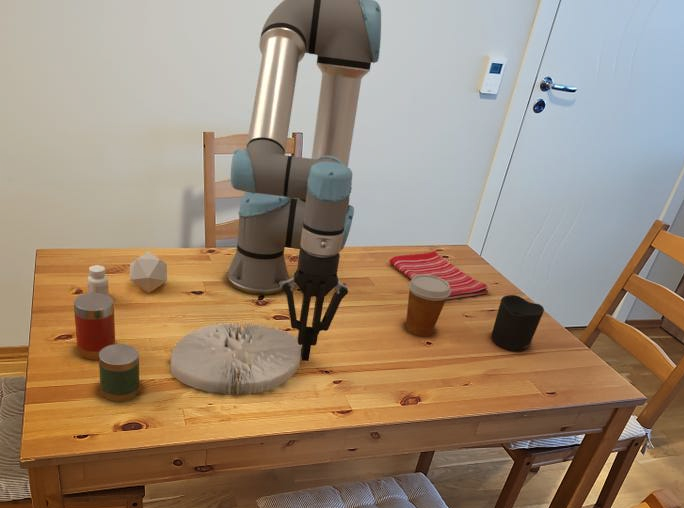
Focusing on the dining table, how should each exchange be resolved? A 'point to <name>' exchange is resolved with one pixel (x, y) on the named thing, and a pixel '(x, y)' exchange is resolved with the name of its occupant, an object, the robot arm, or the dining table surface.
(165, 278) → the die
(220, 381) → the spiky fractal disc
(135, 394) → the bean tin
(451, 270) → the dish towel
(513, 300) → the pen holder
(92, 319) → the tomato tin
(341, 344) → the dining table surface
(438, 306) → the disposable coffee cup
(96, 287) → the pill bottle
